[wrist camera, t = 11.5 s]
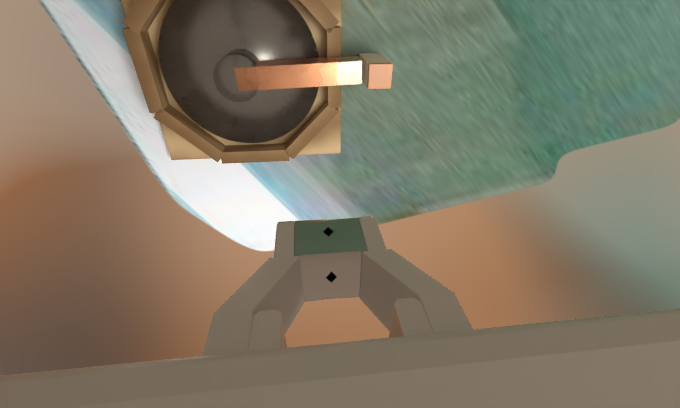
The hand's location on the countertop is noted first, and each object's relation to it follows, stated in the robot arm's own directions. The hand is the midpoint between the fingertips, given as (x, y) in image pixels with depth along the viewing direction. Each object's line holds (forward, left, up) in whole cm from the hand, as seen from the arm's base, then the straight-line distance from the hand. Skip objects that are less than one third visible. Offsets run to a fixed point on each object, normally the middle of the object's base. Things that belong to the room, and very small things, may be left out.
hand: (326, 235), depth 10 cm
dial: (+1, -5, -32) cm, 32 cm away
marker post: (+1, +8, -33) cm, 34 cm away
